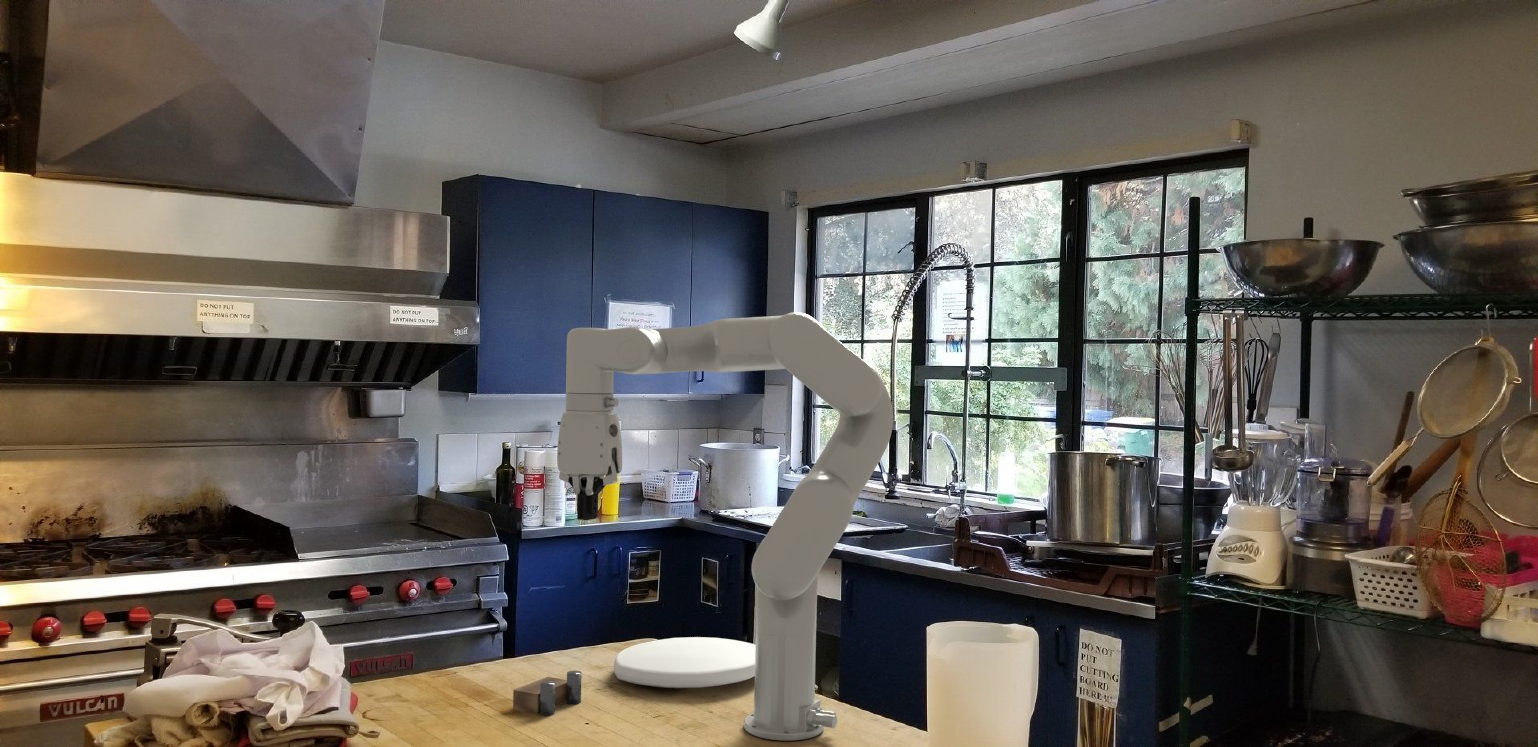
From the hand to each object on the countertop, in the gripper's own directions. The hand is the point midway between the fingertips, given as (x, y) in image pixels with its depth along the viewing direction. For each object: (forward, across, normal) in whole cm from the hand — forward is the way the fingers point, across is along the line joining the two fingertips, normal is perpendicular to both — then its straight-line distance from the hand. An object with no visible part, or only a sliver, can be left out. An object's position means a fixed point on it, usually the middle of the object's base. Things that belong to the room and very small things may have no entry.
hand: (587, 518), depth 176 cm
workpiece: (+32, +10, -2) cm, 34 cm away
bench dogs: (+32, +6, -2) cm, 33 cm away
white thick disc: (+33, -2, -29) cm, 44 cm away
